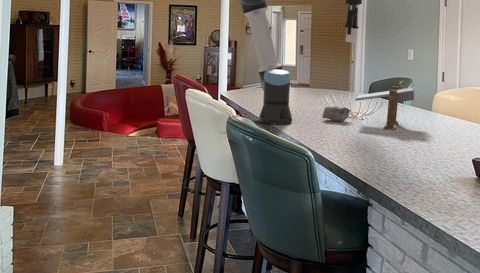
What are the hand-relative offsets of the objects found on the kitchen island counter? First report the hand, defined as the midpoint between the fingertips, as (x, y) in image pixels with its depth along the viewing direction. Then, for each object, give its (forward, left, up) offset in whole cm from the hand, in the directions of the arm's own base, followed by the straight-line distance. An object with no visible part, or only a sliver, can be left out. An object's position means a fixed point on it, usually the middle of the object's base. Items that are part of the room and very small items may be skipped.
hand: (350, 42), depth 221 cm
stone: (-3, -10, -30) cm, 31 cm away
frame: (+22, -11, -37) cm, 44 cm away
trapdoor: (+19, -11, -26) cm, 34 cm away
